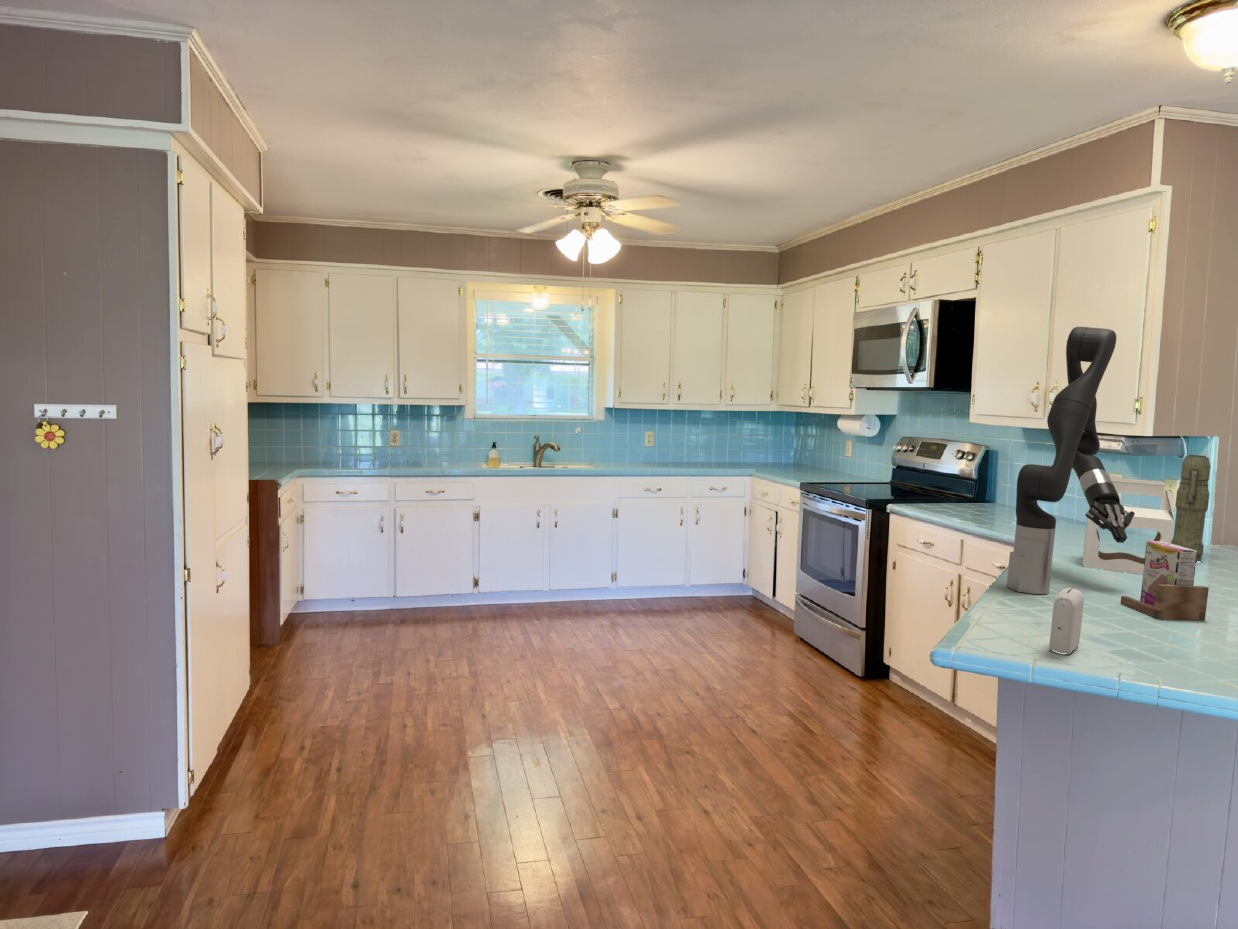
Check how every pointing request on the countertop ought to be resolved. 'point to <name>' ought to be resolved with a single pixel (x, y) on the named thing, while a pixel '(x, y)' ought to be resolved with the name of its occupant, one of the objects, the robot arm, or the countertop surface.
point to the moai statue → (1192, 503)
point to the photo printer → (1066, 621)
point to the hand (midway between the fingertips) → (1122, 541)
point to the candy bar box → (1166, 568)
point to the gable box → (1131, 526)
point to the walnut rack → (1174, 602)
